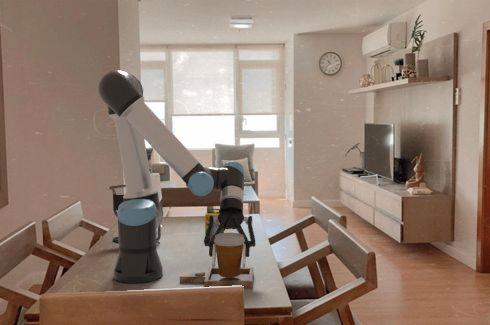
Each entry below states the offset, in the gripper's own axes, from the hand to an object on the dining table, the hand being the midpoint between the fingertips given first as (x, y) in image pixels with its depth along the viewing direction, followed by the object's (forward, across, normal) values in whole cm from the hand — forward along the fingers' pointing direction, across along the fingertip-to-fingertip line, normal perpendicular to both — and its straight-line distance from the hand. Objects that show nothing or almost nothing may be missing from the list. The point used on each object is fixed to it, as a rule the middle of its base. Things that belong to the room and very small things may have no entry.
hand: (228, 265), depth 156 cm
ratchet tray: (+2, +4, -6) cm, 8 cm away
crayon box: (-38, +10, -47) cm, 61 cm away
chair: (-33, +41, -41) cm, 67 cm away
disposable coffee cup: (0, 0, -5) cm, 5 cm away
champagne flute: (-52, +39, -61) cm, 89 cm away
